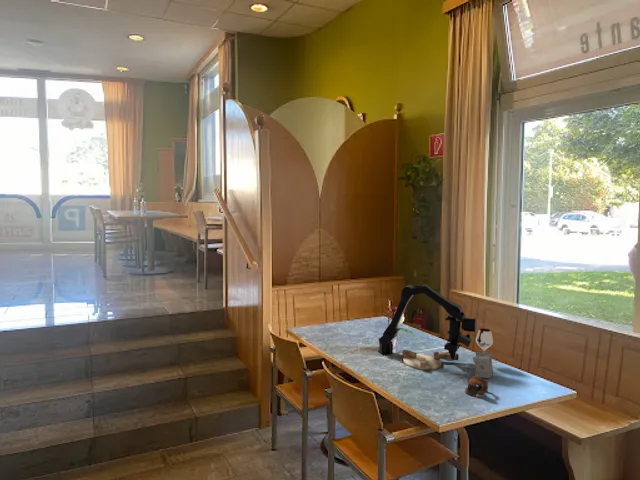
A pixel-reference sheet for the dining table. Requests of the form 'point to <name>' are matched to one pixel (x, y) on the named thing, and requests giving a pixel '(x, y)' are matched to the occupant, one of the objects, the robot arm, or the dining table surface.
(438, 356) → the folding leg
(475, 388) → the reddish brown arched figure
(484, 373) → the incense holder
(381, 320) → the dining table surface
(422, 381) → the dining table surface
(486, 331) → the wineglass
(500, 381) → the dining table surface
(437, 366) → the stool seat
